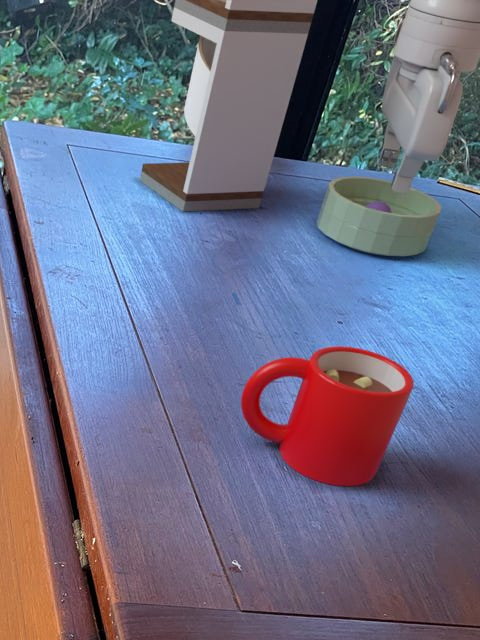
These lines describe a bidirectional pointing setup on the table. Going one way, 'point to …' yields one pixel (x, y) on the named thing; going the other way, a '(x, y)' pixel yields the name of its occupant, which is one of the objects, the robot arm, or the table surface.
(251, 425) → the mug
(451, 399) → the table surface
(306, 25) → the brown-rimmed upright block
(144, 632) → the table surface
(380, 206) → the ball
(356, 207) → the bowl
